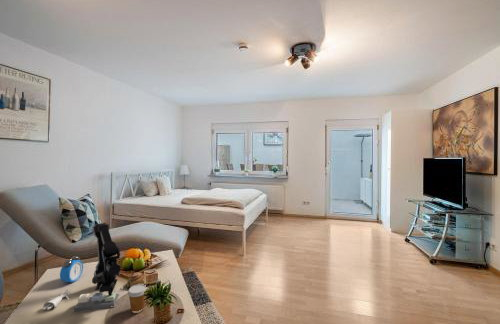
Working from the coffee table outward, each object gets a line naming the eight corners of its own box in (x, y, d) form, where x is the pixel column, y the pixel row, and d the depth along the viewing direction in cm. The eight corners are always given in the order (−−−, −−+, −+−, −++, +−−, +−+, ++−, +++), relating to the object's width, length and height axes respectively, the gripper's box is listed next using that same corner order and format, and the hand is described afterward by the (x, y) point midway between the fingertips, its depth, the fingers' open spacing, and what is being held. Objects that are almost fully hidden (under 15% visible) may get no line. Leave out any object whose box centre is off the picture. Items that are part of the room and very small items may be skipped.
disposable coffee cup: (150, 310, 133) (150, 288, 132) (131, 318, 126) (131, 295, 126) (143, 302, 140) (143, 281, 139) (125, 309, 133) (125, 288, 133)
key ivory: (81, 298, 137) (81, 294, 137) (90, 297, 138) (90, 293, 138) (78, 303, 133) (77, 298, 133) (87, 301, 134) (87, 297, 134)
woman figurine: (33, 304, 129) (58, 287, 147) (33, 313, 129) (58, 295, 147) (56, 304, 129) (78, 287, 147) (56, 313, 129) (78, 295, 147)
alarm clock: (68, 286, 154) (68, 263, 153) (59, 286, 154) (58, 262, 153) (83, 275, 167) (83, 254, 166) (74, 275, 167) (74, 253, 166)
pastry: (124, 283, 159) (124, 271, 158) (148, 276, 168) (148, 265, 168) (129, 293, 148) (129, 280, 148) (154, 285, 158) (154, 273, 157)
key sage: (107, 297, 141) (107, 293, 141) (115, 296, 142) (115, 292, 142) (104, 301, 137) (104, 297, 136) (113, 300, 138) (113, 296, 138)
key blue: (94, 296, 139) (94, 292, 139) (103, 295, 140) (103, 291, 140) (91, 301, 135) (91, 297, 135) (100, 300, 136) (100, 296, 136)
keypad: (81, 300, 140) (81, 296, 140) (118, 295, 145) (118, 291, 145) (73, 312, 130) (73, 308, 130) (113, 307, 135) (113, 302, 135)
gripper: (99, 262, 145) (99, 287, 146) (87, 278, 127) (88, 307, 128) (120, 260, 148) (120, 285, 149) (111, 275, 130) (112, 304, 131)
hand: (110, 294), depth 139 cm, fingers closed, pressing on key sage
